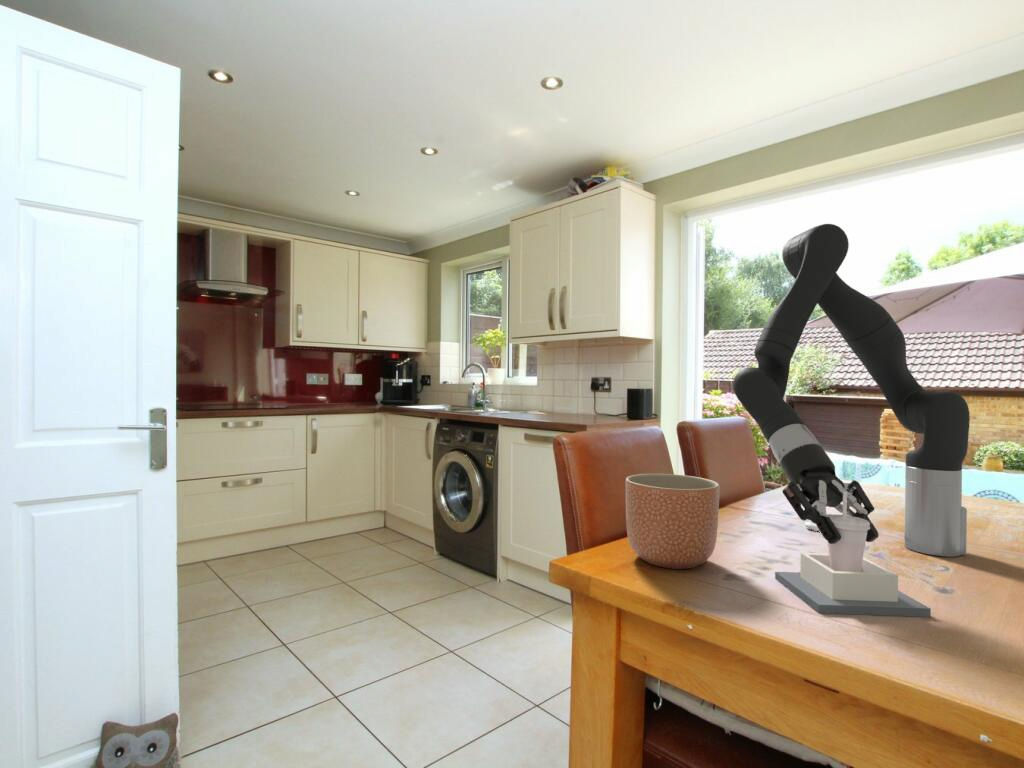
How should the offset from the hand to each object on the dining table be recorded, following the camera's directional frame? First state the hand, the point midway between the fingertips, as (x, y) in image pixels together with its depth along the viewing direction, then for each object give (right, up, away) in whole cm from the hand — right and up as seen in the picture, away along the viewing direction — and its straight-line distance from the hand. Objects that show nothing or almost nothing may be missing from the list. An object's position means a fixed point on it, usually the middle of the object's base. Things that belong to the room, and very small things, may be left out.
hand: (854, 540), depth 83 cm
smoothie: (-1, -7, +2) cm, 7 cm away
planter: (-24, -9, +17) cm, 31 cm away
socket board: (-1, -9, +1) cm, 9 cm away
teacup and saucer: (+20, -11, +44) cm, 50 cm away
